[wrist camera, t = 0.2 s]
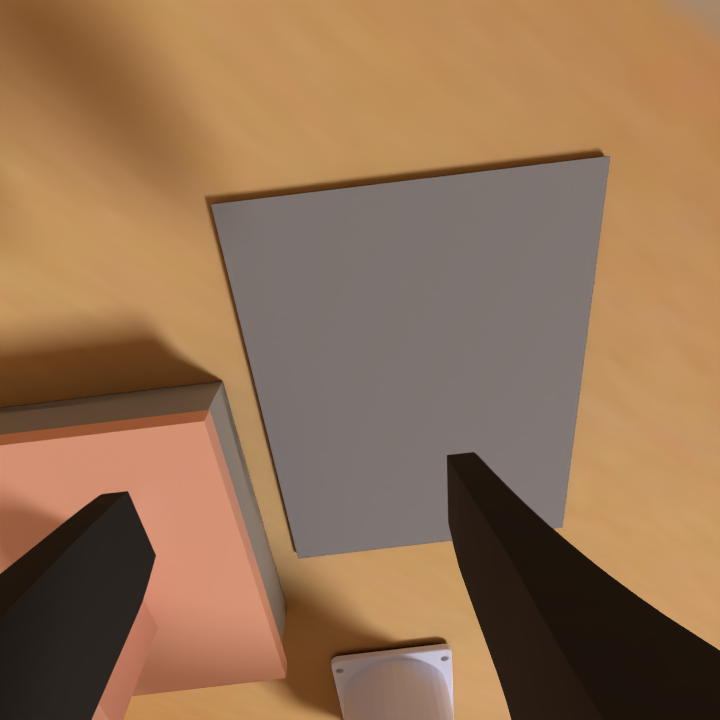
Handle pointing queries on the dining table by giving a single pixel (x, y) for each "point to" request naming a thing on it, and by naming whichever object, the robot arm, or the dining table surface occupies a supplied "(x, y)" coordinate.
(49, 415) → the tub
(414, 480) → the mat
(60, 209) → the dining table surface
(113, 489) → the lid
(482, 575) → the robot arm
